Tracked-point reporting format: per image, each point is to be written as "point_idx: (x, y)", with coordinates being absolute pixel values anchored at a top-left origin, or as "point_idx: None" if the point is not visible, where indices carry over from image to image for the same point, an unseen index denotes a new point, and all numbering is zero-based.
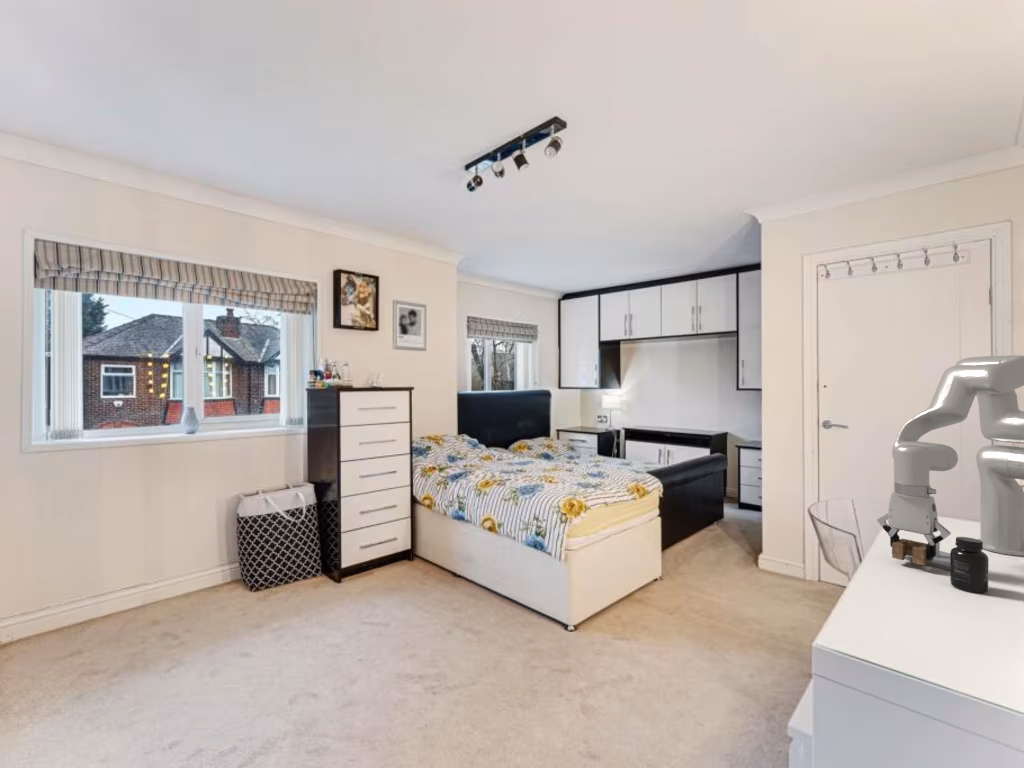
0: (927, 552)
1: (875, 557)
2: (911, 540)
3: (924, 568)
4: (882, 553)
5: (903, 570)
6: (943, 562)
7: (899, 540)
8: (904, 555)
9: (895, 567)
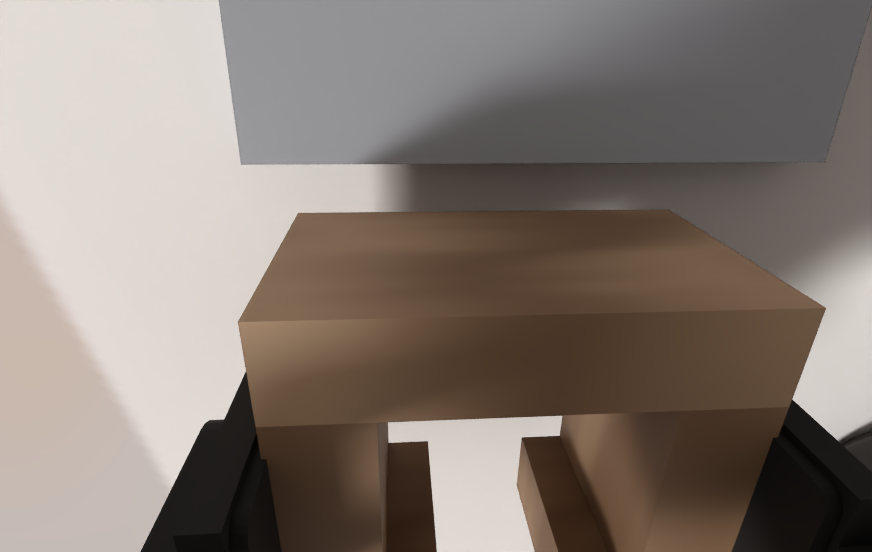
0: None
1: (131, 376)
2: (430, 316)
3: None
4: (51, 138)
5: (460, 513)
6: (736, 25)
7: (285, 490)
8: (430, 485)
9: None
